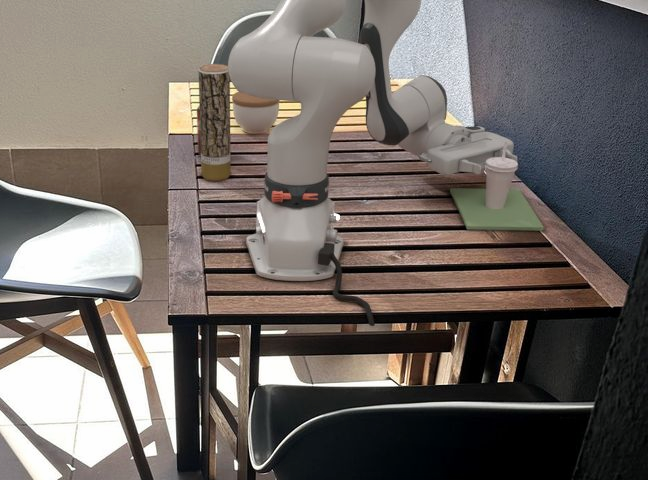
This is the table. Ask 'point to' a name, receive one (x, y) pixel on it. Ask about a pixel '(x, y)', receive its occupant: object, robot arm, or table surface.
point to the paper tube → (215, 121)
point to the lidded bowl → (254, 112)
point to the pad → (495, 211)
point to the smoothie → (499, 179)
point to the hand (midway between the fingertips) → (498, 165)
